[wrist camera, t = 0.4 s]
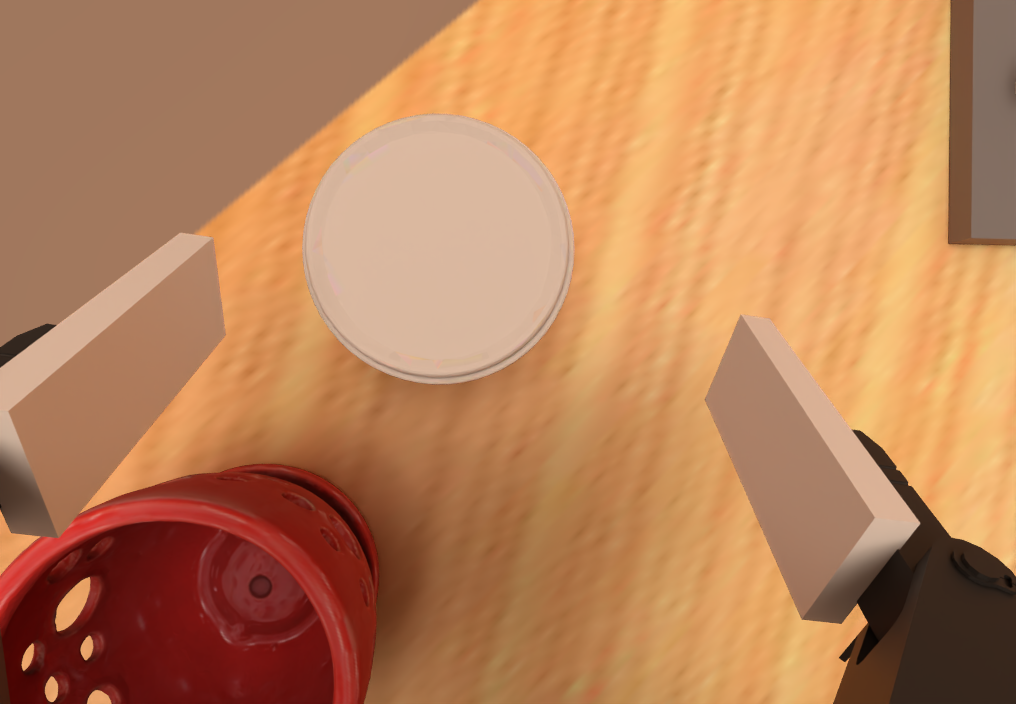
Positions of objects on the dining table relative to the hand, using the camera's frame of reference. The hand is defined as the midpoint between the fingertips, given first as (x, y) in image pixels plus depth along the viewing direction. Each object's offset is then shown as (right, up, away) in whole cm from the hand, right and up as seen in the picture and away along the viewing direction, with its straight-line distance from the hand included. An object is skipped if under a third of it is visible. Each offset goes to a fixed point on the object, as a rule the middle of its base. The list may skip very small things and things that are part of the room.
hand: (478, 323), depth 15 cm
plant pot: (-11, -12, +16) cm, 23 cm away
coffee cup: (-2, +3, +17) cm, 17 cm away
